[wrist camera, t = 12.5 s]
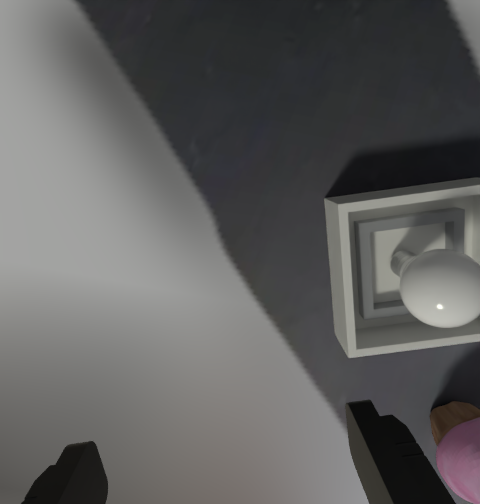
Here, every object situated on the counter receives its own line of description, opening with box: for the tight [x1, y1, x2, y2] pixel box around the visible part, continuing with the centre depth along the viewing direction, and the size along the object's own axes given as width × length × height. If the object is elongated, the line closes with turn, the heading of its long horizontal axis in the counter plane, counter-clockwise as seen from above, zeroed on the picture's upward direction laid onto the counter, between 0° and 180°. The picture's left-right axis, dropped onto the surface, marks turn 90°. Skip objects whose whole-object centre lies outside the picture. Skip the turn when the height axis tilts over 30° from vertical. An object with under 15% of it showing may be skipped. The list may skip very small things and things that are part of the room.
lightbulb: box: [390, 249, 480, 328], centre depth 32 cm, size 6×6×11 cm
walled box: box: [324, 177, 480, 358], centre depth 36 cm, size 15×15×5 cm
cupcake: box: [430, 401, 480, 504], centre depth 38 cm, size 9×9×10 cm
